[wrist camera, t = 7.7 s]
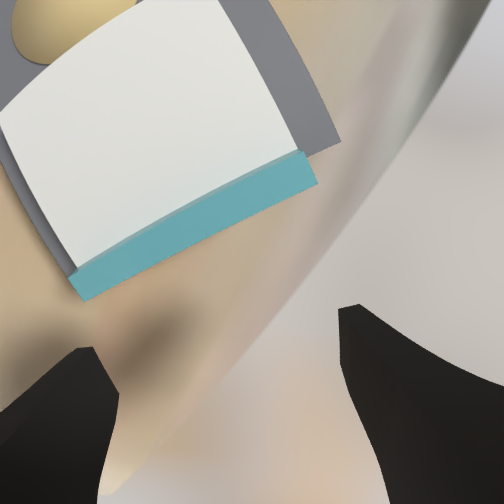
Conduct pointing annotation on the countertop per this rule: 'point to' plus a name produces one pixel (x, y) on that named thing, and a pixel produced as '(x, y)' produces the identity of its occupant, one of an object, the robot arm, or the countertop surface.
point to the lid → (151, 140)
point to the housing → (105, 9)
